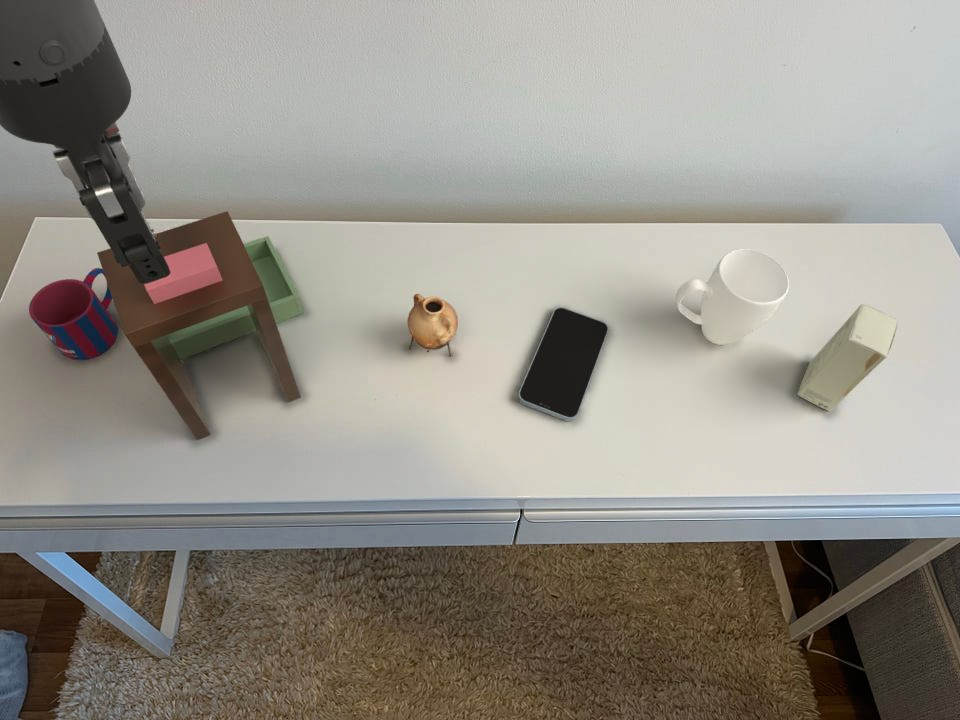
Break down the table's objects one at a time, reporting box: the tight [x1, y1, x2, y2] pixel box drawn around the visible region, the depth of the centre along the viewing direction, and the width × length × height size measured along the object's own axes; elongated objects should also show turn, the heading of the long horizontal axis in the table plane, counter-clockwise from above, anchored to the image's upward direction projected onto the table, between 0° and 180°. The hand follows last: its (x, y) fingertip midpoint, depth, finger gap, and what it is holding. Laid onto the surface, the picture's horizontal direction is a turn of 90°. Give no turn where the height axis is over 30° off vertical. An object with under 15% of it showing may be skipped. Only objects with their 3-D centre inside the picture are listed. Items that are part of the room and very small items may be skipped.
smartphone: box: [517, 306, 610, 422], centre depth 82 cm, size 7×1×15 cm
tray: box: [166, 235, 304, 360], centre depth 83 cm, size 16×11×4 cm
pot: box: [407, 293, 459, 358], centre depth 80 cm, size 6×8×6 cm
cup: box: [28, 267, 118, 361], centre depth 78 cm, size 7×10×7 cm
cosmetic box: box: [797, 302, 900, 412], centre depth 78 cm, size 6×4×12 cm
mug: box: [674, 248, 790, 346], centre depth 82 cm, size 12×8×11 cm
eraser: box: [144, 243, 222, 304], centre depth 59 cm, size 6×3×2 cm, turn 119°
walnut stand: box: [96, 210, 302, 441], centre depth 69 cm, size 12×10×21 cm
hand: (139, 236), depth 50 cm, fingers open, 8 cm apart
